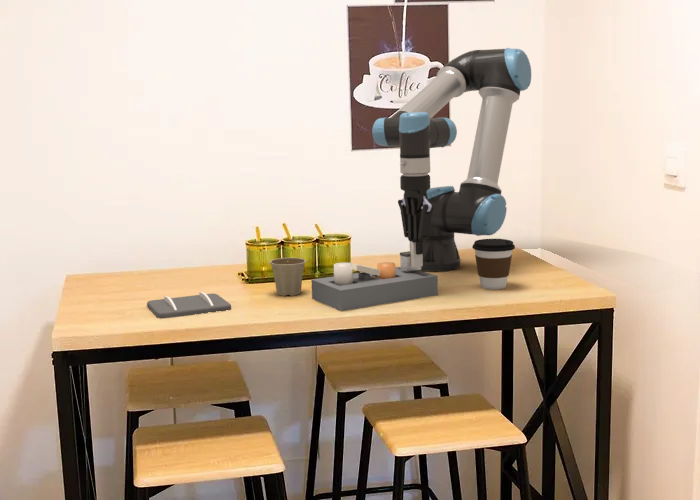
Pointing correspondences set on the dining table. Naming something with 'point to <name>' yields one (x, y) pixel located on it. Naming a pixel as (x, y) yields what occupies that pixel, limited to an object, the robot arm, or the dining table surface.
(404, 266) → the fader
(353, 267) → the rocker
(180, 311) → the grey flat slab
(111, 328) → the dining table surface
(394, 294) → the console
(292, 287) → the flower pot
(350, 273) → the button white
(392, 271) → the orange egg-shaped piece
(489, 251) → the coffee cup
